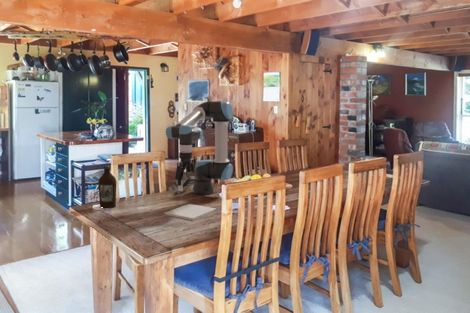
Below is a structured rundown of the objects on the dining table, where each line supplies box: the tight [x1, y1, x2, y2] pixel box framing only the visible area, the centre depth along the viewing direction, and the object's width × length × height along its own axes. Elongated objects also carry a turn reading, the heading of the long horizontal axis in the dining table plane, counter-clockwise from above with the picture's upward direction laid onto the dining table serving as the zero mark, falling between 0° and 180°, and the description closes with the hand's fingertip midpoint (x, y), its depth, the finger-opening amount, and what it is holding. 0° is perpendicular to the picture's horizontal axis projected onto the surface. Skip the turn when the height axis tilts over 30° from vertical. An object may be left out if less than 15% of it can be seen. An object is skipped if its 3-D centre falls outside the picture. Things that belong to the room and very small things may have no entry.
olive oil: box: [97, 165, 117, 209], centre depth 258 cm, size 11×11×25 cm
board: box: [164, 203, 217, 221], centre depth 251 cm, size 24×20×1 cm
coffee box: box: [168, 171, 199, 197], centre depth 251 cm, size 9×6×16 cm
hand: (185, 189), depth 251 cm, fingers closed on coffee box, 9 cm apart
